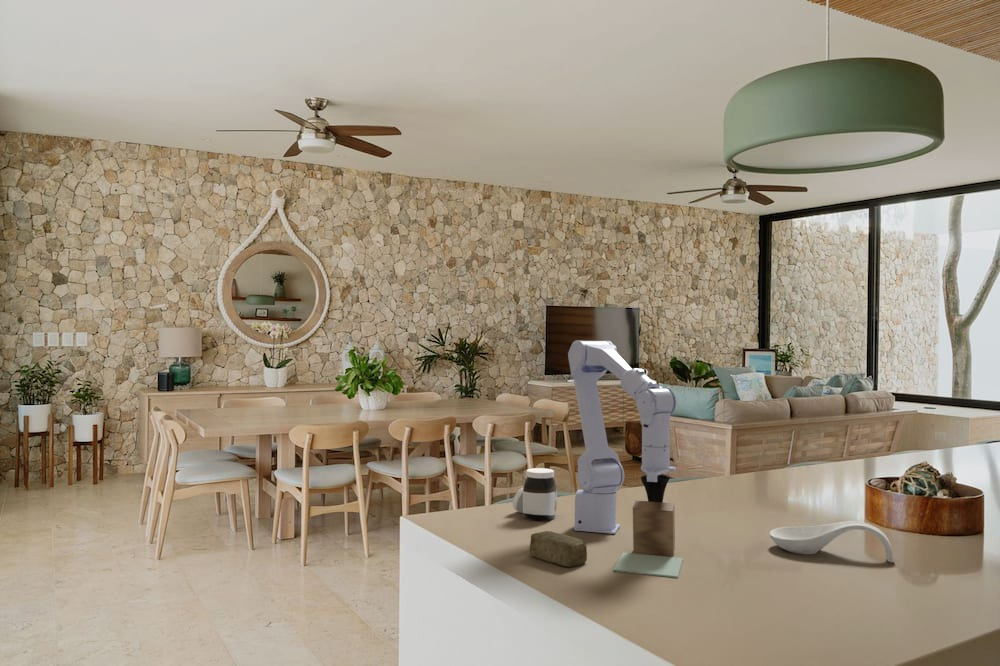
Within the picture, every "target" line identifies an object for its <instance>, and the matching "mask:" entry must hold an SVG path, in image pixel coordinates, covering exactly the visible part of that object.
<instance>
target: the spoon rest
mask: <svg viewBox="0 0 1000 666" xmlns="http://www.w3.org/2000/svg"><path fill="white" fill-rule="evenodd" d="M855 530H860V531H864V532H867V533H870V534H871V535H874V537H876V538H878V540H879V541H880V542H881V544H882V546H883V548H884V552H885V557H886V561H887V562H889V563H894V562H895V556H894V551H893V548H892V544H891V541H890V540H889V538H888V536H887V535H886V534H885V533H884V531H882V530H881V529H880V528H878V527H876V526H874V525H871V524H869V523H867V522H863V521H858V520H846V521H840V522H839V521H838V522H833V523H828V524H821V525H809V526H808V525H806V526H805V525H802V526H800V525H794V526H783V527H777V528H774V529H772V530H770V532H769V534H768V535H769V538H770V539H771V540H772V541H773V542H774V544H776V545H777V546H778V547H780V548H781V549H782V550H785V551H786V552H789V553H793V554H798V555H814V554H817V553H818V552H819V551H820V550H823V548H825V547H826V546H827V545H828V544H830V543H831V542H832V541H833V540H835V539H836V538H837V537H839V536H840V535H843V534H844V533H846V532H849V531H855Z"/></svg>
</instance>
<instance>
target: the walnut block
mask: <svg viewBox="0 0 1000 666" xmlns="http://www.w3.org/2000/svg"><path fill="white" fill-rule="evenodd" d="M675 523H676V522H675V503H674V502H672V503H671V502H664V501H663V502H650V501H648V500H647V501H646V500H636V499H635V501H634V503H633V506H632V538H633V539H632V541H633V543H632V544H633V545H632V546H633V548H632V549H633V550H632V551H633V553H635V554H645V555H655V556H666V557H674V555H675V549H676V548H675V547H676V544H675V543H676V542H675V541H676V540H675V537H676V536H675V534H676V533H675V530H676V529H675Z"/></svg>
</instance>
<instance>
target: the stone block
mask: <svg viewBox="0 0 1000 666" xmlns="http://www.w3.org/2000/svg"><path fill="white" fill-rule="evenodd" d="M529 544H530V545H529V550H528V551H529V555H531V556H532V557H534V558H536V559H538V560H542V561H544V562H547V563H551V564H553V565H557V566H561V567H567V568H572V567H573V568H574V567H576V566H581V565H583V564H585V563H586V562H587V560H588V552H587V551H588V550H587V548H588V547H587V544H586V542H585V541H584V539H580V538H576V537H574V536H570V535H567V534H562V533H558V532H554V531H550V530H546V531H541V532H535V533H531V536H530V542H529Z"/></svg>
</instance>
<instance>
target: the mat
mask: <svg viewBox="0 0 1000 666" xmlns="http://www.w3.org/2000/svg"><path fill="white" fill-rule="evenodd" d="M683 560H684V558H683V557H675V556H673V557H666V556H655V555H645V554H635V553H632V552H622V554H621V556H620V557H619V559H618V560H617V562H616V564H615V566H614V568H613V572H618V573H628V574H629V573H630V574H639V575H647V576H656V577H663V578H664V577H665V578H667V577H668V578H672V579H673V578H675V579H678V578H679V576H680V571H681V568H682V564H683V562H684V561H683Z"/></svg>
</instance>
